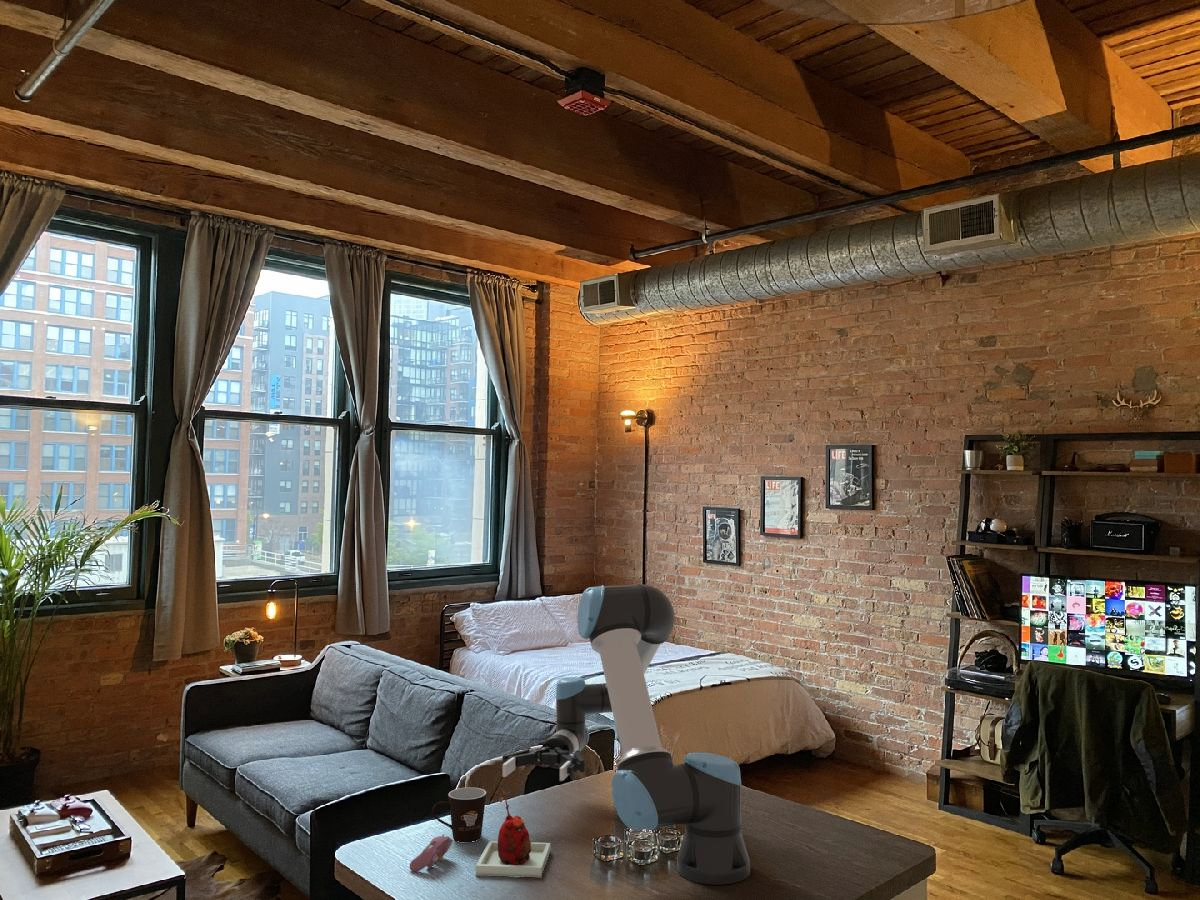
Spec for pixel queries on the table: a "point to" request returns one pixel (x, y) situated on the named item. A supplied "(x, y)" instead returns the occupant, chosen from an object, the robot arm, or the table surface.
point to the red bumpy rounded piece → (513, 839)
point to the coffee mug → (465, 813)
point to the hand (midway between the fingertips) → (532, 772)
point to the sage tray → (495, 867)
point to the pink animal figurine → (431, 853)
